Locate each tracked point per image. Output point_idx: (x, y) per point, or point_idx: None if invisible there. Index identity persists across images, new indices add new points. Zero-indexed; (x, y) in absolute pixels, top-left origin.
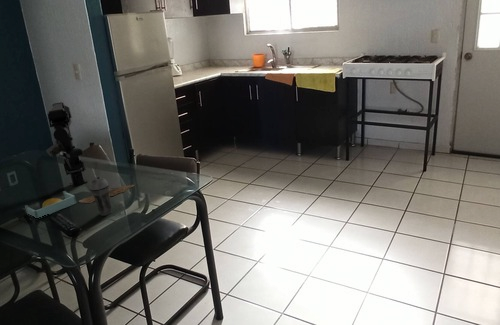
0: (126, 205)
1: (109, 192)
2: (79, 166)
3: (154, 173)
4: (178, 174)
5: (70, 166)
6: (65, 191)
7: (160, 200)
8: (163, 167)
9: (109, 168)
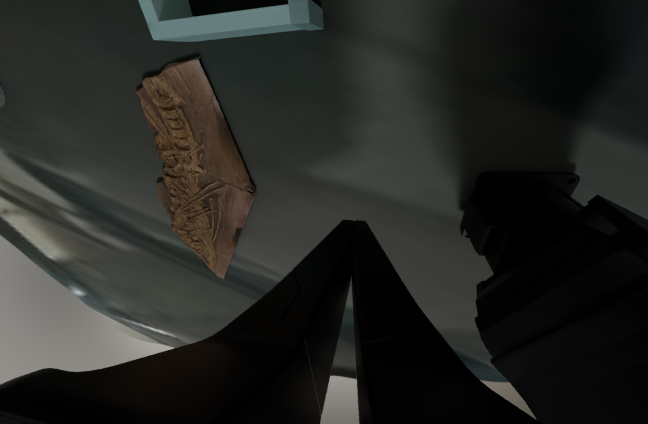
0: (37, 168)
1: (210, 206)
2: (479, 305)
3: None
4: None
5: (330, 236)
6: (290, 20)
7: (39, 235)
8: None
9: None
